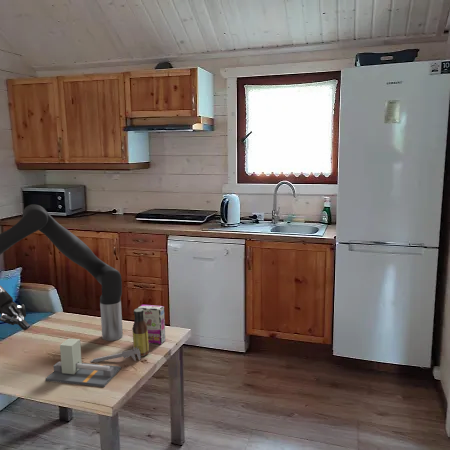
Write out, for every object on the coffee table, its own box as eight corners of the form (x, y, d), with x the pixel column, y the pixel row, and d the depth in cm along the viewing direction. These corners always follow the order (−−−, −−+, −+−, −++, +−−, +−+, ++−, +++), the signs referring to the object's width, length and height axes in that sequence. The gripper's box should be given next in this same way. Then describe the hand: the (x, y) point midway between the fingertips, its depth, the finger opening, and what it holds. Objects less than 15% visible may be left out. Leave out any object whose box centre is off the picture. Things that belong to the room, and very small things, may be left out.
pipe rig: (65, 363, 183) (65, 353, 182) (120, 368, 178) (120, 358, 177) (45, 380, 169) (44, 370, 169) (104, 387, 164) (103, 375, 164)
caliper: (140, 359, 186) (140, 345, 185) (140, 361, 185) (139, 346, 184) (90, 361, 185) (89, 347, 184) (90, 363, 184) (89, 348, 183)
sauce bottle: (141, 349, 195) (139, 305, 192) (152, 352, 192) (150, 308, 188) (130, 354, 190) (128, 310, 187) (140, 358, 186) (138, 313, 183)
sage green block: (70, 365, 178) (68, 338, 176) (81, 366, 177) (80, 339, 175) (62, 373, 172) (59, 344, 170) (73, 374, 171) (71, 345, 169)
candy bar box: (166, 340, 204) (164, 305, 201) (161, 344, 199) (160, 309, 197) (143, 337, 207) (142, 303, 204) (138, 342, 202) (137, 307, 200)
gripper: (-10, 296, 169) (22, 329, 168) (13, 285, 181) (43, 316, 181) (-21, 308, 171) (11, 341, 170) (3, 297, 183) (32, 328, 183)
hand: (27, 328), depth 175 cm, fingers closed
